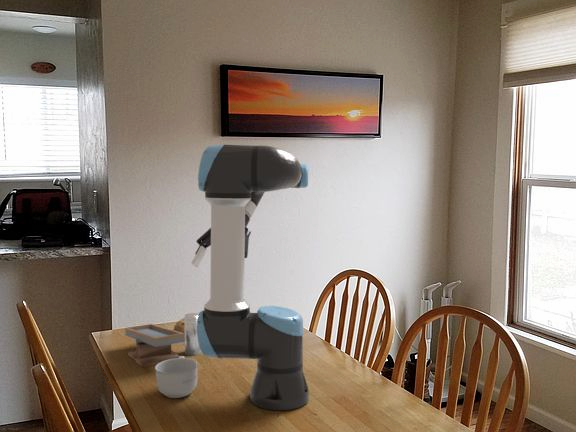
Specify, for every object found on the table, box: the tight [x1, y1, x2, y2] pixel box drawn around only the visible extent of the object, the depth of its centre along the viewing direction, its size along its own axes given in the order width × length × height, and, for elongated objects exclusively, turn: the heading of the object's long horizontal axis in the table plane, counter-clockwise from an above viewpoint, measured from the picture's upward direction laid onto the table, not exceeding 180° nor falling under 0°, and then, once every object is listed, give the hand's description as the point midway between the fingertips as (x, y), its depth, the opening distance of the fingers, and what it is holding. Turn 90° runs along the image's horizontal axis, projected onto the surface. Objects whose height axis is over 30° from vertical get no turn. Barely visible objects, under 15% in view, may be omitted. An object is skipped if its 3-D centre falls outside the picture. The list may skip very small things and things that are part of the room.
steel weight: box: [184, 312, 202, 356], centre depth 189 cm, size 5×5×12 cm
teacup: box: [154, 355, 198, 399], centre depth 159 cm, size 14×11×8 cm
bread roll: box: [173, 317, 185, 335], centre depth 207 cm, size 10×10×8 cm
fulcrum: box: [127, 342, 181, 368], centre depth 184 cm, size 12×12×5 cm
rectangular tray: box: [124, 323, 185, 347], centre depth 184 cm, size 26×11×3 cm, turn 34°
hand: (209, 270), depth 189 cm, fingers open, 13 cm apart
